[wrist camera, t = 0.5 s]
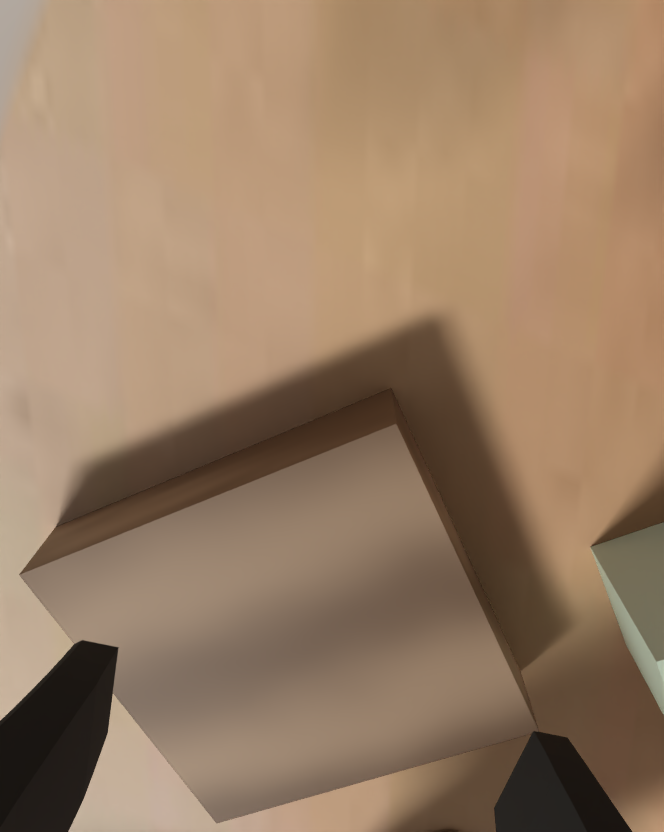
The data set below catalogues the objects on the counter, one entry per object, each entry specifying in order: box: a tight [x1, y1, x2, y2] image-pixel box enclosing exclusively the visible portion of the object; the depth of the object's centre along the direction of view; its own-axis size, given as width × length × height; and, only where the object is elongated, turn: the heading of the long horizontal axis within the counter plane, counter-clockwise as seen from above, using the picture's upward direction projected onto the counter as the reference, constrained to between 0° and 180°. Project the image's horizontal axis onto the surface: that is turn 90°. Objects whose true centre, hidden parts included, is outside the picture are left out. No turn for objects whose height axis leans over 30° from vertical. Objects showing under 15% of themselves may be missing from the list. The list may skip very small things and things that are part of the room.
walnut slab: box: [19, 389, 539, 823], centre depth 21 cm, size 12×12×3 cm
